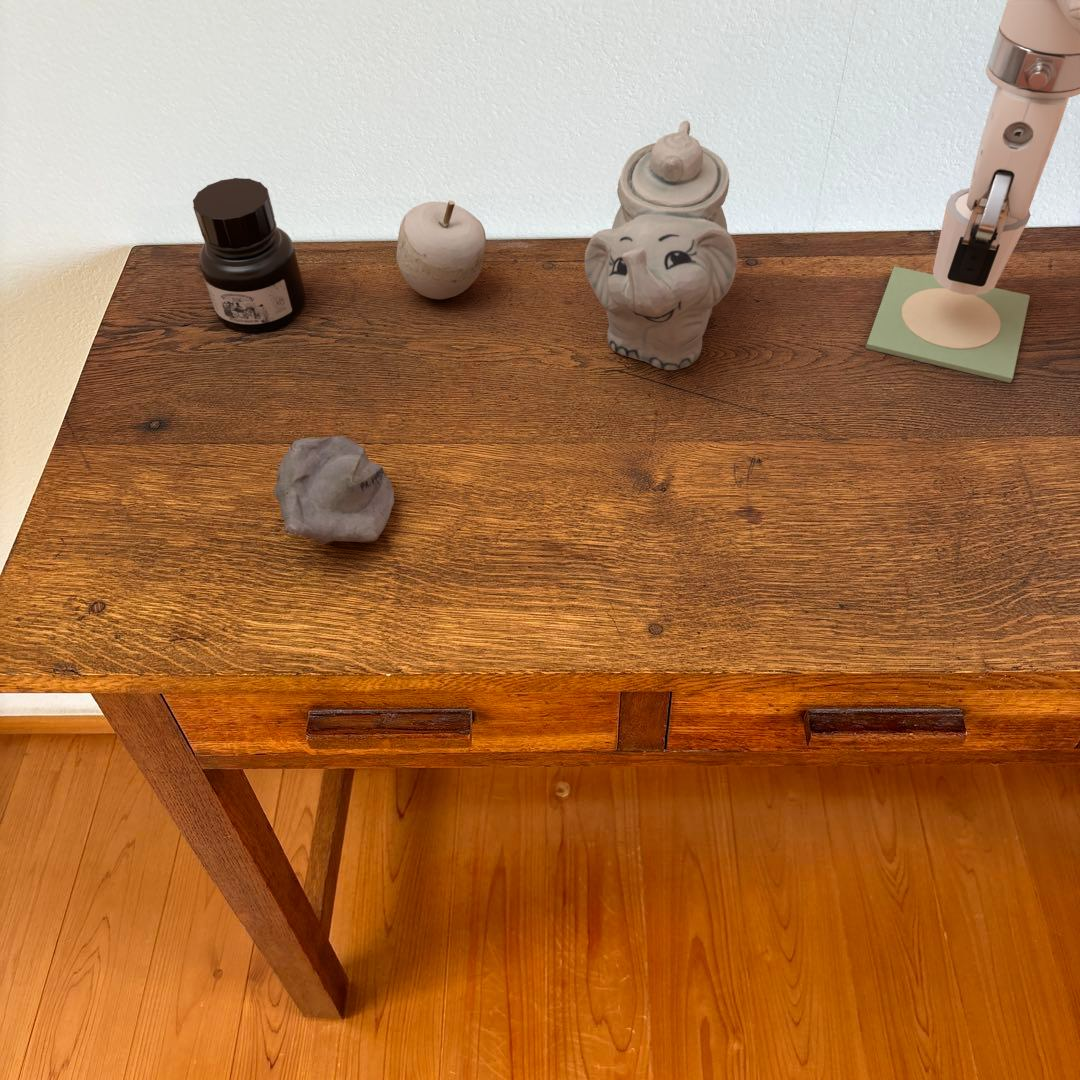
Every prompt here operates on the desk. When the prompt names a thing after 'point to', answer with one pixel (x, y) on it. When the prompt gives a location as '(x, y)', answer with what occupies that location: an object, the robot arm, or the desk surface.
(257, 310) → the ink bottle
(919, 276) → the mat
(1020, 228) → the shot glass
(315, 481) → the fossil
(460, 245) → the decorative object
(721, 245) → the teapot
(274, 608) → the desk surface
